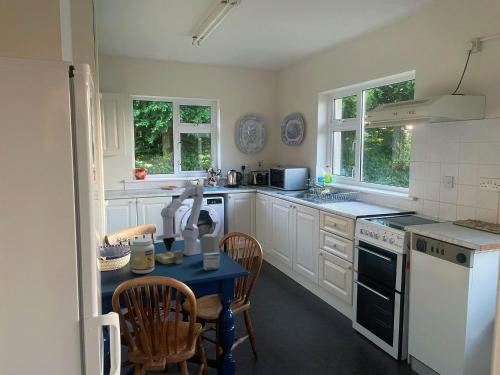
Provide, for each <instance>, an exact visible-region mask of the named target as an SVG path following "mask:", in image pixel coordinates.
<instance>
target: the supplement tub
mask: <svg viewBox="0 0 500 375" xmlns="http://www.w3.org/2000/svg"><path fill="white" fill-rule="evenodd" d="M131 244H132V245H131V247H130V254H131V255H130V260H131V263H130V264H131V271H132V273H135V274H148V273H151V272H153V271H154V270H155V267H156V266H155V265H156V264H155V263H156V262H155V246H154V241H153V238H151V237H141V238H135V239H132V242H131Z"/></svg>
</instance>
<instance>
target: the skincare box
mask: <svg viewBox="0 0 500 375" xmlns="http://www.w3.org/2000/svg"><path fill="white" fill-rule="evenodd" d="M219 238H220V236H219V234H218V233H217V234H214V233H206V234H203V235H201V245H202V260H203V262H204V256H203V254H204V253H214V252H217V253H219V261H221V255H220V254H221V253H220V250H221V249H220V239H219Z"/></svg>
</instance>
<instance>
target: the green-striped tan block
mask: <svg viewBox="0 0 500 375" xmlns="http://www.w3.org/2000/svg"><path fill="white" fill-rule="evenodd" d="M154 261H157V262H159V263H160V264H163V265H166V264H171V263H174V251H170V252H169V251H167V252H163V253H156V254H154Z"/></svg>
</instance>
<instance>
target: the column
mask: <svg viewBox="0 0 500 375" xmlns="http://www.w3.org/2000/svg"><path fill="white" fill-rule="evenodd" d="M173 252H174V262H173V263H174V265H181V264H184V254H183V252H184V250H181V249H178V250H173Z"/></svg>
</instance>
